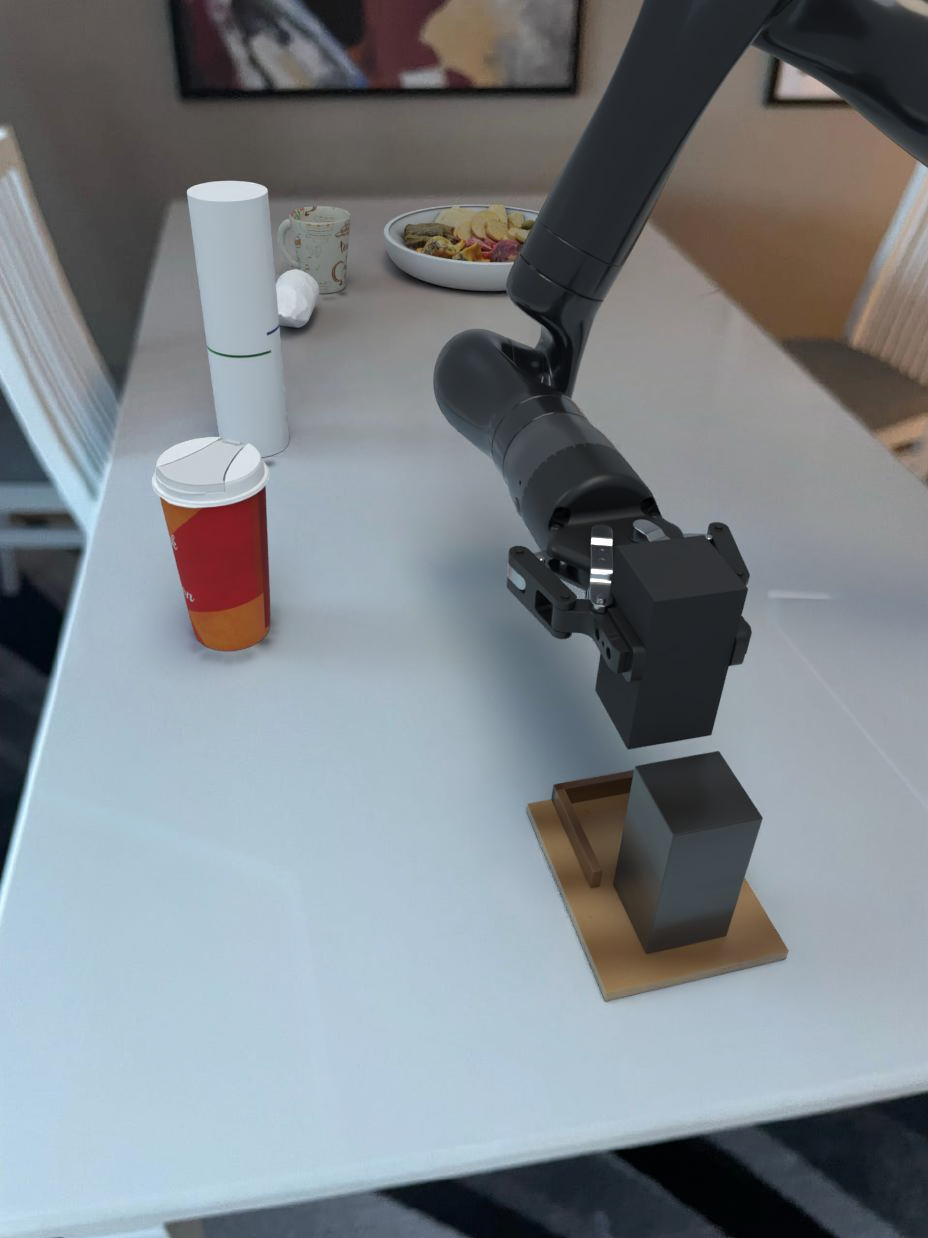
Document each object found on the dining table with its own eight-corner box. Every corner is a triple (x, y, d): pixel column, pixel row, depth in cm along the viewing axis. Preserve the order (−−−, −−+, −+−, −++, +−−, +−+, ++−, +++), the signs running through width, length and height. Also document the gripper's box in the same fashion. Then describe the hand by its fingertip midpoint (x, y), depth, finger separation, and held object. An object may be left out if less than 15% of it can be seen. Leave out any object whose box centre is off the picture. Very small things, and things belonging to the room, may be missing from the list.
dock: (526, 811, 65) (538, 686, 58) (681, 783, 67) (709, 659, 61) (605, 1001, 54) (630, 874, 48) (786, 959, 57) (834, 832, 50)
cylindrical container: (302, 435, 106) (283, 187, 91) (264, 464, 101) (237, 205, 86) (245, 421, 109) (218, 176, 93) (206, 448, 103) (170, 194, 88)
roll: (260, 341, 126) (256, 297, 123) (277, 308, 136) (273, 266, 133) (307, 343, 126) (304, 299, 123) (321, 309, 136) (318, 268, 133)
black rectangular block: (594, 690, 58) (615, 545, 52) (674, 677, 59) (704, 534, 53) (627, 750, 54) (654, 601, 48) (711, 735, 55) (748, 588, 49)
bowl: (343, 260, 153) (341, 207, 148) (480, 224, 170) (482, 175, 165) (485, 314, 136) (487, 256, 131) (620, 268, 153) (626, 215, 149)
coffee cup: (216, 588, 84) (192, 424, 75) (303, 611, 81) (289, 446, 72) (157, 645, 77) (122, 474, 68) (249, 672, 75) (226, 499, 66)
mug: (329, 300, 139) (325, 226, 133) (259, 282, 144) (252, 210, 138) (364, 284, 145) (362, 212, 139) (296, 267, 150) (291, 197, 144)
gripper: (469, 451, 60) (564, 620, 47) (688, 430, 63) (833, 582, 50) (465, 556, 64) (550, 736, 51) (670, 531, 68) (798, 694, 55)
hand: (689, 659), depth 51 cm, fingers closed on black rectangular block, 5 cm apart
